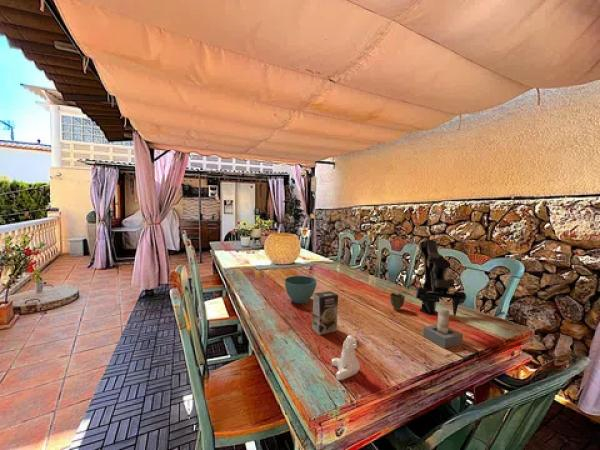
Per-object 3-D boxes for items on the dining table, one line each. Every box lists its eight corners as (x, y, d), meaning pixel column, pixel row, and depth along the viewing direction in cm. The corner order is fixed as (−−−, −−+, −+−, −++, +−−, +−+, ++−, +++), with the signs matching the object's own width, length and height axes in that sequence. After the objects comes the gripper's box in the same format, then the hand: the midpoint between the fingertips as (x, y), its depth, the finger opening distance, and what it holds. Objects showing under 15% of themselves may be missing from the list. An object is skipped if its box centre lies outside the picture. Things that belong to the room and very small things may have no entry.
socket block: (440, 332, 113) (440, 323, 112) (462, 343, 104) (462, 334, 103) (423, 336, 109) (423, 327, 109) (444, 348, 100) (445, 338, 99)
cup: (403, 308, 141) (404, 293, 140) (404, 313, 134) (405, 297, 133) (389, 306, 143) (390, 292, 143) (389, 310, 136) (390, 296, 136)
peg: (438, 336, 109) (439, 307, 108) (449, 340, 106) (450, 310, 106) (435, 340, 106) (436, 310, 105) (446, 343, 103) (447, 313, 103)
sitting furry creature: (330, 363, 88) (331, 328, 88) (354, 362, 89) (356, 328, 89) (336, 381, 79) (338, 343, 78) (364, 380, 80) (365, 342, 79)
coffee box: (319, 335, 108) (320, 297, 107) (311, 329, 113) (312, 292, 112) (337, 331, 112) (338, 294, 111) (329, 325, 118) (330, 290, 117)
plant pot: (321, 299, 151) (322, 279, 150) (305, 309, 136) (306, 286, 135) (295, 293, 161) (296, 274, 160) (277, 302, 145) (278, 280, 145)
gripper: (418, 269, 114) (420, 302, 105) (466, 273, 109) (473, 308, 99) (415, 282, 122) (417, 313, 113) (459, 286, 117) (466, 320, 107)
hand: (442, 314), depth 108 cm, fingers open, 9 cm apart
